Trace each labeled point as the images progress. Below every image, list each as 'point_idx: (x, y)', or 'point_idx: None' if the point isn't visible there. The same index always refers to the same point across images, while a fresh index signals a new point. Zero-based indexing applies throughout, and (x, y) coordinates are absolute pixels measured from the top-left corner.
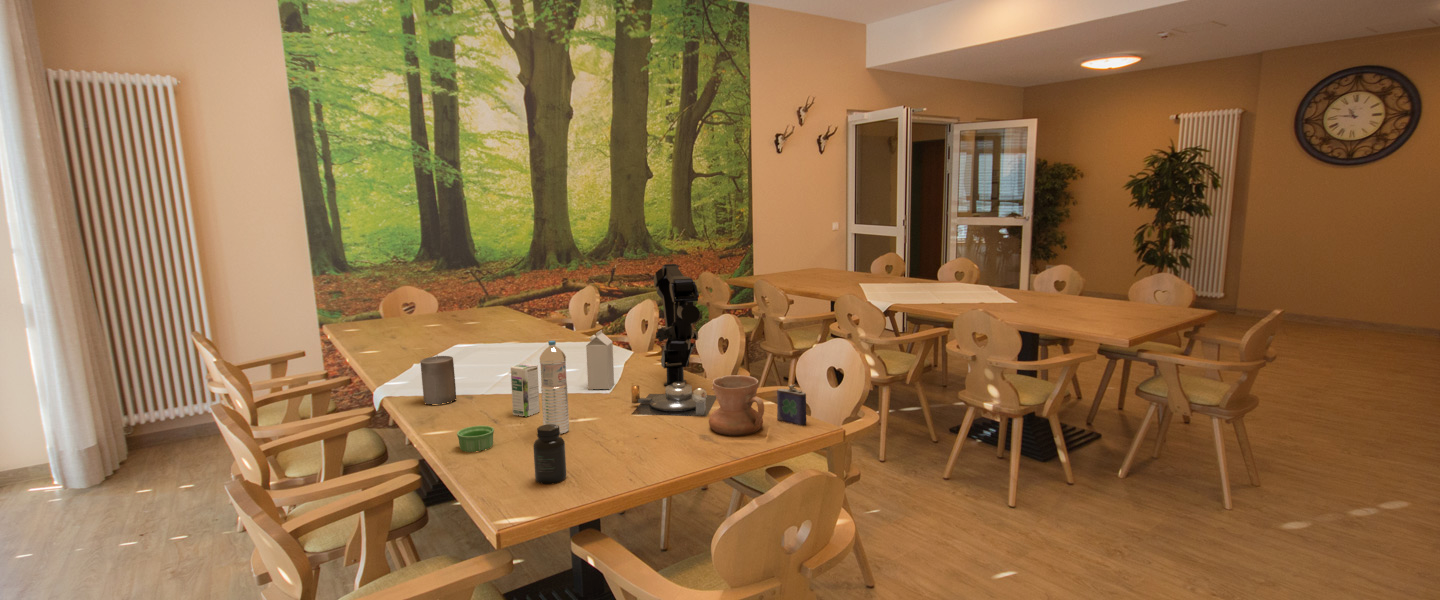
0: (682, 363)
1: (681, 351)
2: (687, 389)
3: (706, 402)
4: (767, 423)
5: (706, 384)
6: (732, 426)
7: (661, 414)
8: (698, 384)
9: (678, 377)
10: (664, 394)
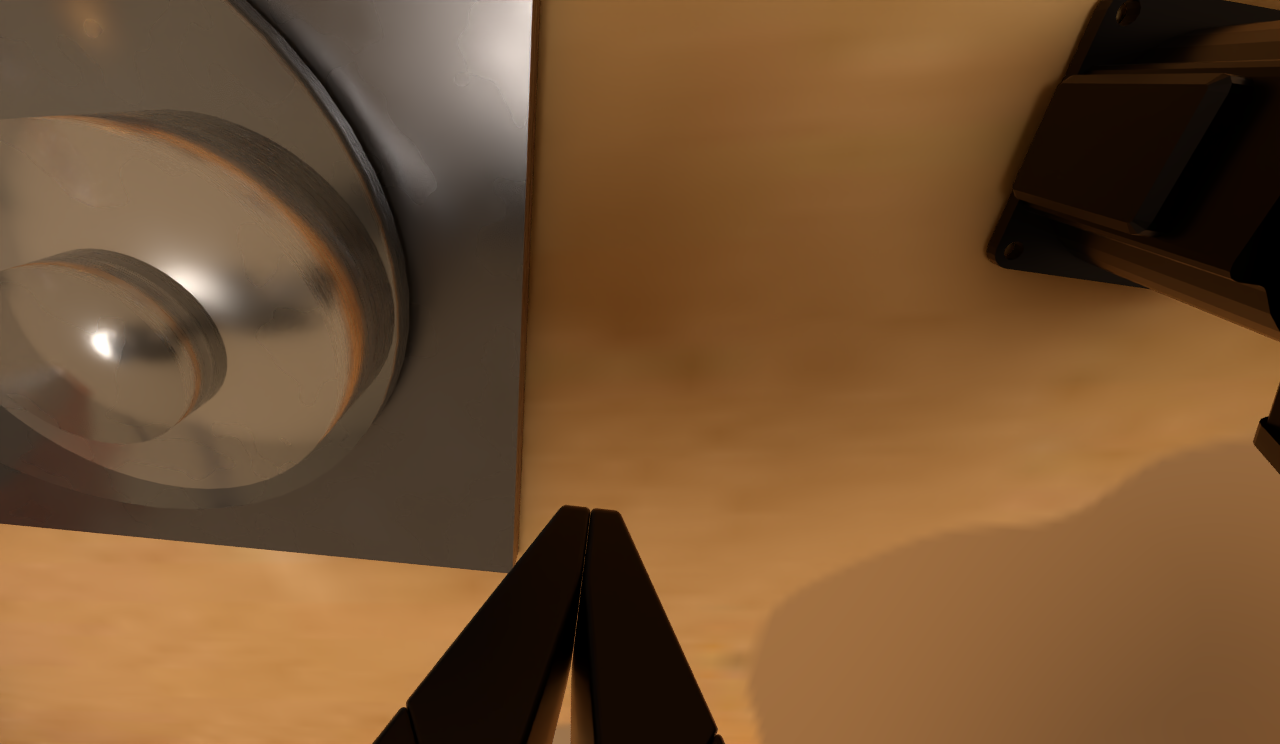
0: (517, 573)
1: None
2: (65, 447)
3: (276, 504)
4: (55, 741)
5: (988, 471)
6: None
7: None
8: (1018, 407)
9: (1104, 235)
10: (270, 75)
